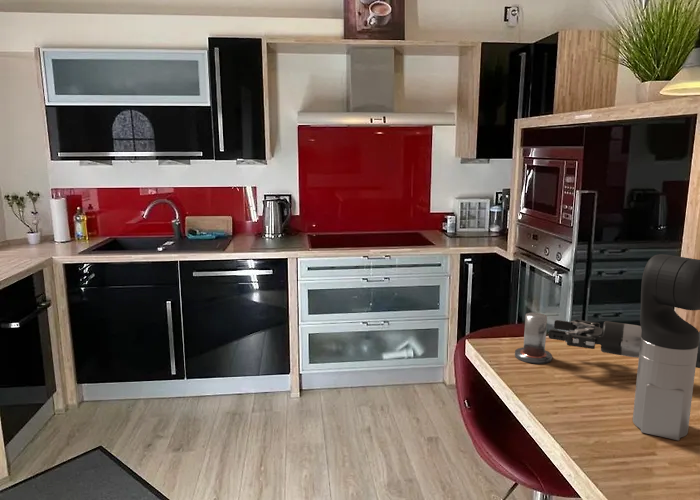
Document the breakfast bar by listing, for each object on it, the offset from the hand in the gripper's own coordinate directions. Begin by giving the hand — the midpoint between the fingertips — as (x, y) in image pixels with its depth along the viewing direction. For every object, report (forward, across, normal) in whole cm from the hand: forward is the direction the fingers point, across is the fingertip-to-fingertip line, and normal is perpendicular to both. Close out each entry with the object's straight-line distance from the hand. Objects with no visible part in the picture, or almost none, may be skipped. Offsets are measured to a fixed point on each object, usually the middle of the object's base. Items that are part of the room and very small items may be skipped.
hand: (551, 328), depth 132 cm
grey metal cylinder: (+4, 0, +7) cm, 8 cm away
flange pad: (+4, 0, +8) cm, 9 cm away
